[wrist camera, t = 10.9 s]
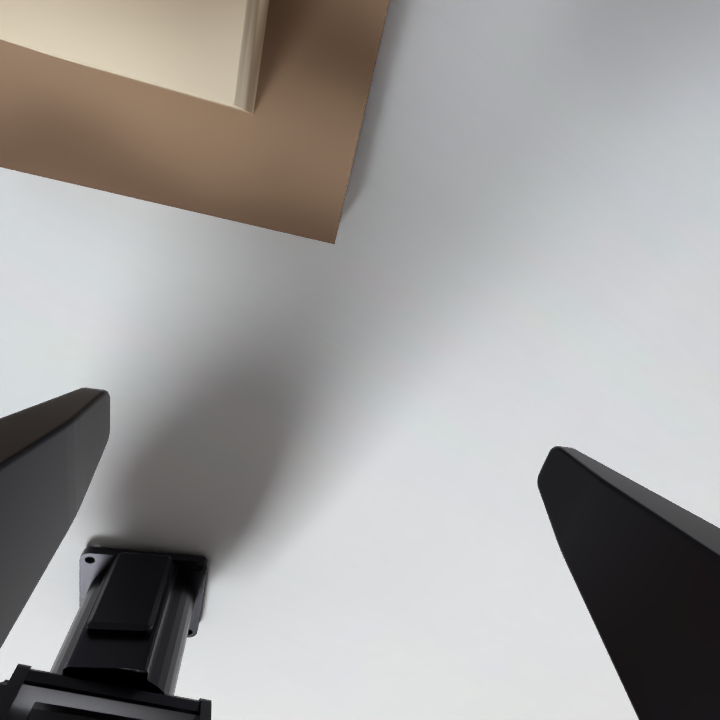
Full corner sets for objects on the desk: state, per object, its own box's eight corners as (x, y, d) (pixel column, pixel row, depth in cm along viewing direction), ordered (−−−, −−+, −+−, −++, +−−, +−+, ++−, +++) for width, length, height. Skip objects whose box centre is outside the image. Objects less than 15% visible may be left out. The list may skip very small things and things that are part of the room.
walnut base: (331, 233, 19) (334, 244, 17) (2, 156, 16) (-35, 159, 15) (417, -156, 14) (434, -198, 12) (-31, -352, 11) (-91, -441, 10)
